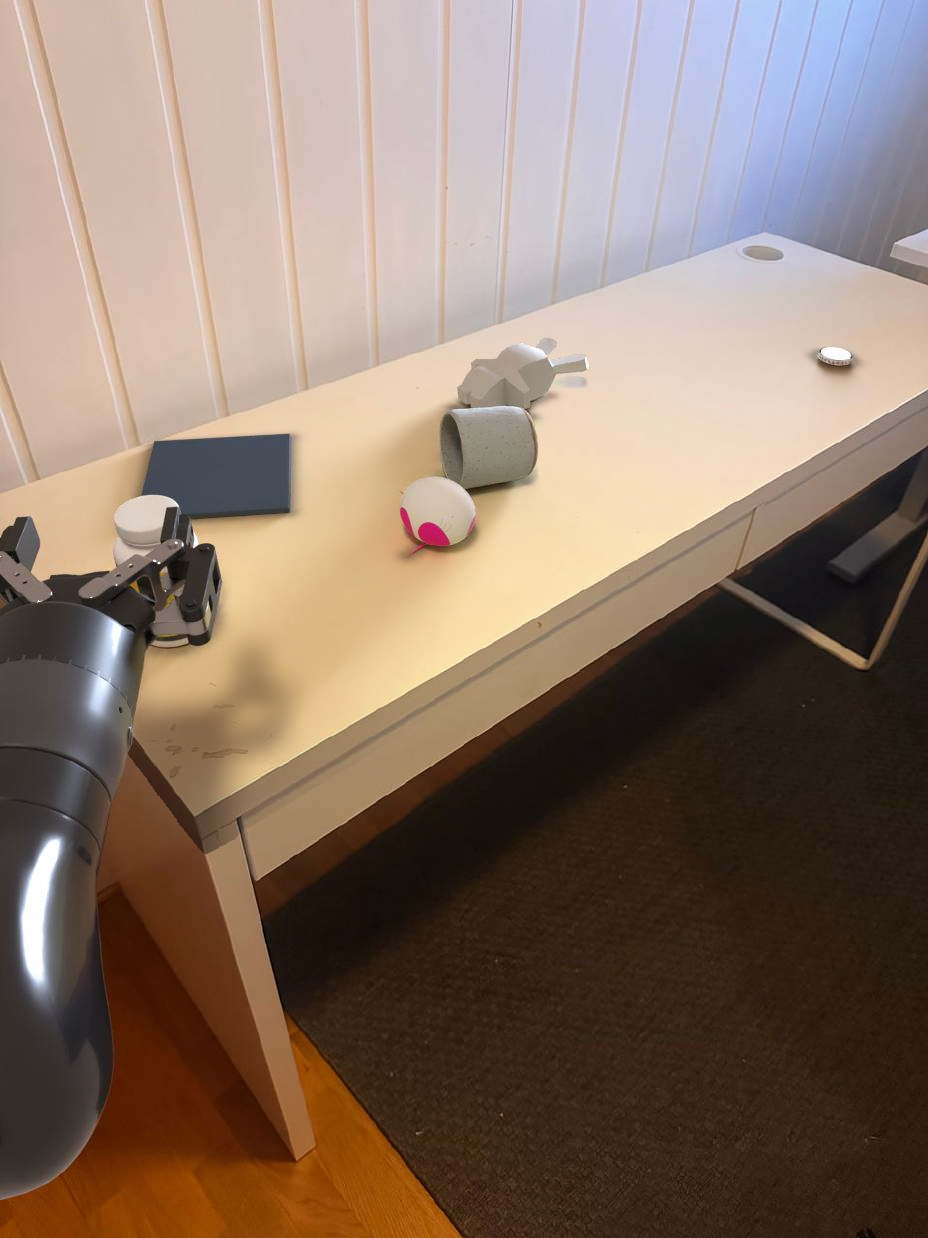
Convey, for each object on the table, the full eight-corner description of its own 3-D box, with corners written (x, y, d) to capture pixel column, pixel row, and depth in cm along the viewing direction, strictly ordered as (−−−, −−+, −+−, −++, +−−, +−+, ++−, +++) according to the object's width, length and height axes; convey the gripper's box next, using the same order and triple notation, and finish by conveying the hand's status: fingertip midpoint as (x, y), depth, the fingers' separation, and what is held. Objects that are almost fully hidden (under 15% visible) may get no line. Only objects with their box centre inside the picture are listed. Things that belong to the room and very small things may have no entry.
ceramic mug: (540, 490, 88) (545, 419, 83) (462, 505, 86) (463, 433, 81) (499, 440, 96) (502, 372, 91) (427, 452, 93) (426, 384, 88)
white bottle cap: (855, 365, 110) (857, 360, 110) (822, 364, 110) (824, 359, 110) (845, 351, 113) (847, 346, 113) (814, 350, 113) (815, 345, 113)
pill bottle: (123, 620, 73) (87, 507, 65) (192, 590, 76) (166, 479, 68) (157, 662, 69) (123, 547, 62) (229, 628, 72) (204, 515, 65)
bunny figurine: (440, 364, 100) (541, 317, 106) (444, 404, 103) (542, 356, 109) (494, 396, 94) (597, 345, 100) (496, 437, 98) (596, 385, 104)
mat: (137, 522, 83) (135, 517, 83) (155, 445, 93) (154, 440, 93) (289, 512, 85) (288, 507, 84) (290, 438, 95) (289, 433, 95)
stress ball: (397, 558, 85) (362, 527, 79) (443, 489, 86) (412, 453, 80) (455, 590, 81) (423, 560, 75) (503, 518, 82) (475, 482, 76)
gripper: (187, 650, 40) (213, 461, 52) (-153, 679, 38) (-44, 477, 50) (216, 759, 45) (234, 563, 57) (-84, 789, 43) (0, 581, 55)
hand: (103, 523), depth 54 cm, fingers open, 8 cm apart
